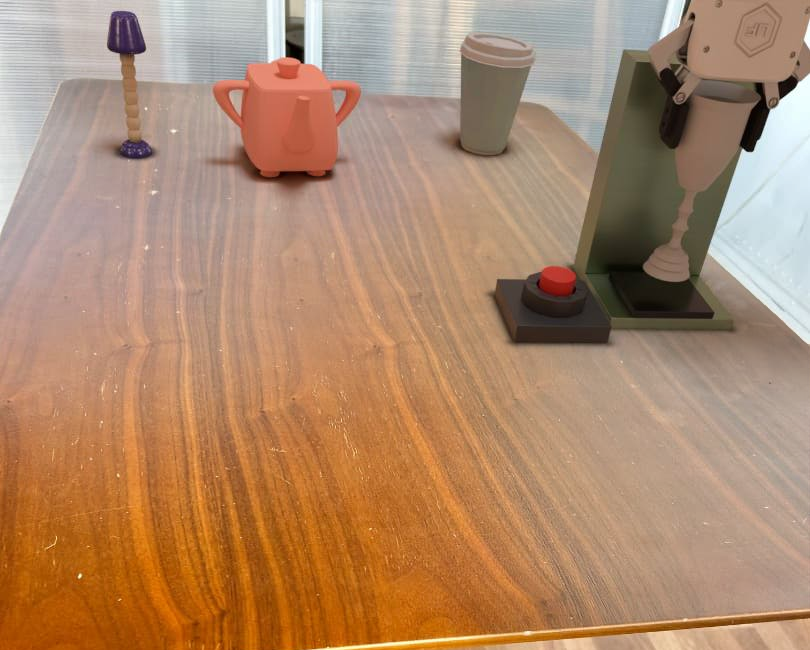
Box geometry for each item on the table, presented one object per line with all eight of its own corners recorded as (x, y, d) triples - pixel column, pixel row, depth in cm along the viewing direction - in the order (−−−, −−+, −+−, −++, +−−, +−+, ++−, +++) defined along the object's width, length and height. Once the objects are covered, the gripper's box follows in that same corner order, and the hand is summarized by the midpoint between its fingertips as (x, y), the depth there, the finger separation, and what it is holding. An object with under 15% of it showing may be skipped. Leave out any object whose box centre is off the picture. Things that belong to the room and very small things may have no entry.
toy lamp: (127, 146, 120) (109, 6, 108) (161, 150, 120) (147, 10, 108) (115, 158, 116) (96, 15, 105) (150, 162, 116) (135, 20, 105)
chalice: (679, 254, 98) (735, 80, 86) (712, 283, 94) (776, 103, 81) (621, 258, 96) (670, 79, 84) (652, 287, 92) (708, 103, 79)
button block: (580, 298, 99) (588, 264, 96) (606, 345, 91) (616, 310, 89) (493, 297, 97) (499, 263, 94) (513, 344, 90) (520, 309, 87)
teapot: (272, 137, 127) (270, 35, 118) (368, 163, 123) (374, 59, 114) (202, 171, 116) (194, 62, 107) (306, 202, 111) (306, 90, 102)
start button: (567, 281, 93) (571, 266, 92) (576, 298, 91) (580, 282, 90) (534, 281, 93) (537, 265, 92) (543, 297, 90) (546, 281, 89)
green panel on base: (683, 271, 106) (752, 56, 90) (729, 331, 96) (816, 102, 80) (572, 269, 104) (623, 48, 88) (607, 330, 94) (672, 94, 78)
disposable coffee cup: (465, 131, 136) (479, 21, 125) (530, 148, 133) (550, 37, 122) (436, 151, 128) (448, 36, 118) (504, 169, 125) (523, 53, 115)
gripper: (693, -73, 70) (633, 156, 82) (890, -55, 73) (805, 163, 85) (661, -89, 75) (609, 128, 87) (845, -73, 78) (771, 135, 90)
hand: (706, 144), depth 86 cm, fingers closed on chalice, 7 cm apart
